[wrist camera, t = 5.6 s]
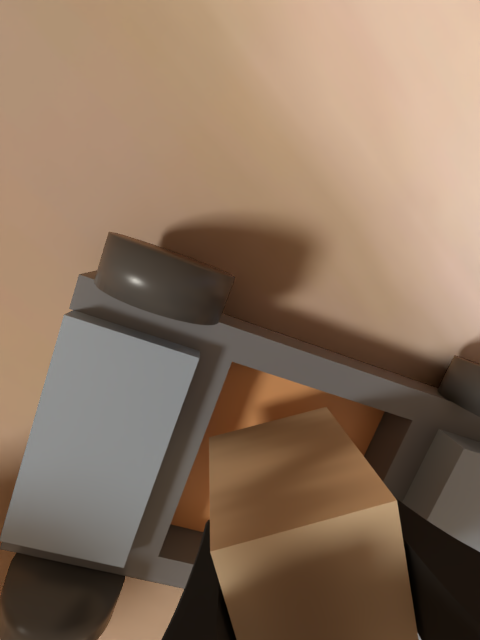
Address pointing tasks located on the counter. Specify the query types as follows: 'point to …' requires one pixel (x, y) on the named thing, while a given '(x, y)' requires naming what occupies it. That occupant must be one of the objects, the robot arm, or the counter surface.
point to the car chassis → (194, 435)
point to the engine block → (306, 535)
